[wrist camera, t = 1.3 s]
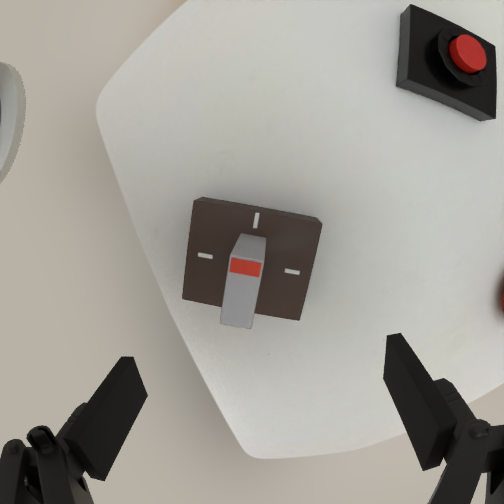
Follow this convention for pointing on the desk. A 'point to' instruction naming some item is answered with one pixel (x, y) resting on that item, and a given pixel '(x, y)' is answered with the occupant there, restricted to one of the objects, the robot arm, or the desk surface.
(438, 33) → the button block
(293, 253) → the dial panel
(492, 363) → the desk surface
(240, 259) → the dial
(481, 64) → the power button
